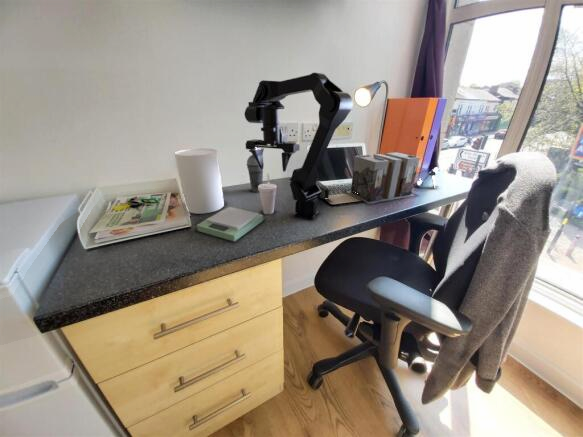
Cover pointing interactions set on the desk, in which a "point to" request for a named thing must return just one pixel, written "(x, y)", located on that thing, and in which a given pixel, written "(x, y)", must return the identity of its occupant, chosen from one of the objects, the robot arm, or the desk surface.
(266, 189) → the smoothie
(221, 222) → the scale
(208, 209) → the canister
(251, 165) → the beverage cup
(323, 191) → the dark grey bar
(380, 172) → the bookend
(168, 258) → the desk surface
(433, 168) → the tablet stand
